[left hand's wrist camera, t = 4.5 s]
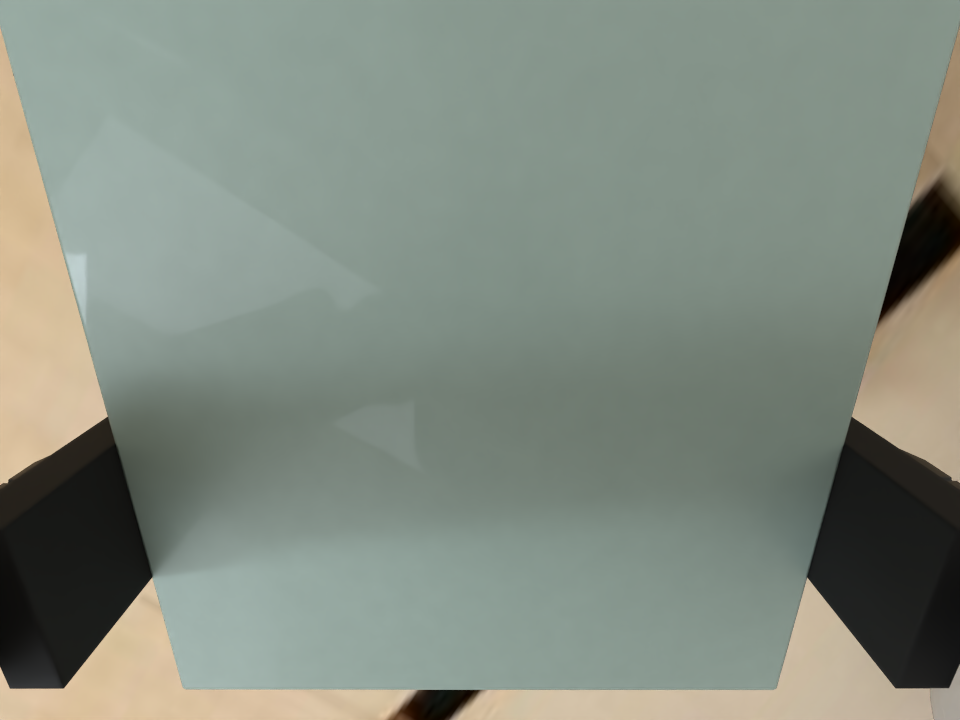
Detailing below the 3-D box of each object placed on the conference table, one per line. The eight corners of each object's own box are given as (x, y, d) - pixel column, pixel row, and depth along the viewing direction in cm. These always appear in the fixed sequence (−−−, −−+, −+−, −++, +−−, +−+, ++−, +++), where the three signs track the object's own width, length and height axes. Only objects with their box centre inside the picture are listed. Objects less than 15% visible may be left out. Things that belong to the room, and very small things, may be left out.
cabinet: (248, -258, 13) (-426, -1492, 3) (711, -257, 13) (1386, -1496, 3) (327, 435, 20) (181, 691, 10) (632, 435, 20) (777, 692, 10)
